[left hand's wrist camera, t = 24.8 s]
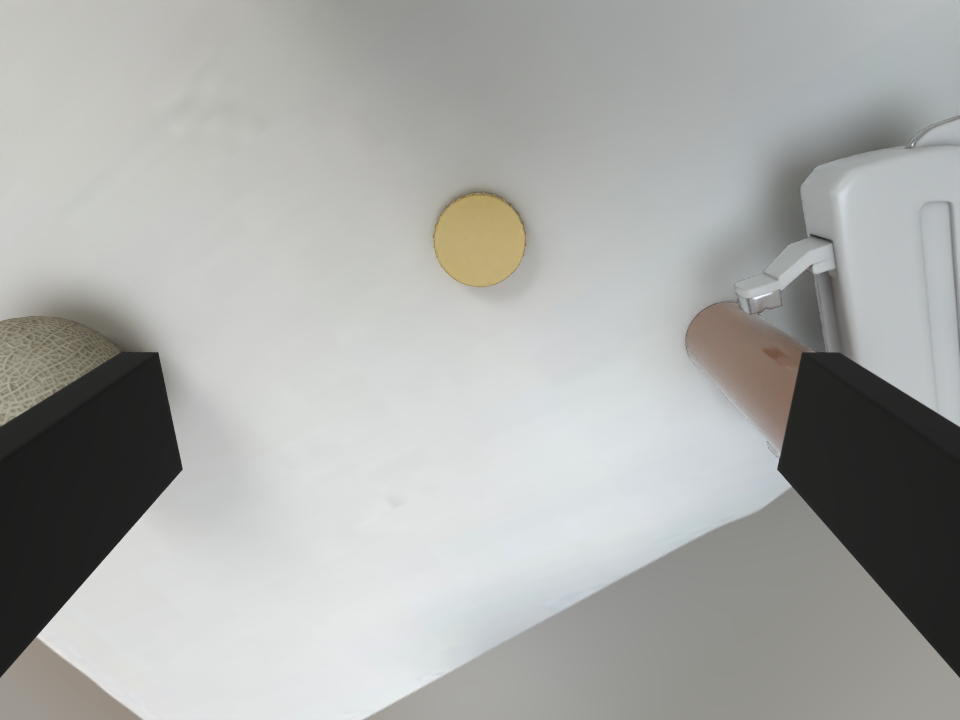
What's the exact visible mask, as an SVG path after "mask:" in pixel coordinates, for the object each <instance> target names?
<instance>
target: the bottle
mask: <svg viewBox="0 0 960 720" xmlns="http://www.w3.org/2000/svg"><path fill="white" fill-rule="evenodd" d="M686 349H687V352H688V355H689V357H690V358H691V360H692V361H693V362H694V363H695V364H696V365H697V366H698V368H699V369H700V370H701V371H702V372H703V373H704V374H705V375H706V376H707V377H708V378H709V379H710V380H711V381H712V382H713V384H714V385H715V386H716V387H717V388H718V389H719V390H720V391H721V392H722V393H723V394H724V395H725V396H726V397H727V398H728V399H729V401H730V402H731V403H732V404H733V405H734V406H735V407H736V408H737V409H738V410H739V411H740V412H741V413H742V414H743V415H744V417H745V418H746V419H747V420H748V421H749V422H750V423H751V424H752V425H753V426H754V427H755V428H756V429H757V430H758V431H759V432H760V434H761V435H762V436H763V437H764V438H765V439H766V440H767V441H768V442H769V443H770V444H771V445H772V446H773V447H774V448H775V449H776V451H777V452H778V453H779V454H781V450H782V445H783V440H784V435H785V430H786V426H787V421H788V416H789V411H790V407H791V402H792V397H793V392H794V388H795V383H796V378H797V373H798V369H799V364H800V359H801V354H802V352H816V351H814V350H813V349H811V348H810V347H808V346H807V345H805V344H803V343H802V342H800V341H799V340H797V339H796V338H794V337H793V336H791V335H789V334H788V333H786V332H785V331H783V330H782V329H780V328H779V327H777V326H776V325H774V324H772V323H771V322H769V321H768V320H766V319H765V318H763V317H762V316H760V315H758V314H751V315H750V314H746V313H745V312H744V311H743V310H740V309H739V306H738V303H735V302H722V303H718V304H715V305H712V306H710V307H708V308H706V309H705V310H703V311H702V312H701V313H699V314H698V315H697V316H696V317H695V319H694V320H693V321H692V323H691V325H690V327H689V329H688V332H687V335H686Z"/></svg>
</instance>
